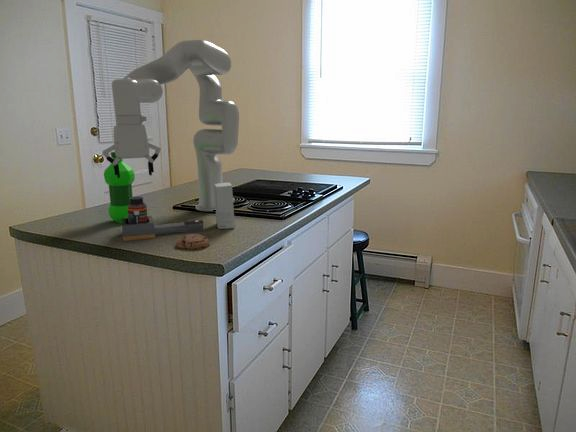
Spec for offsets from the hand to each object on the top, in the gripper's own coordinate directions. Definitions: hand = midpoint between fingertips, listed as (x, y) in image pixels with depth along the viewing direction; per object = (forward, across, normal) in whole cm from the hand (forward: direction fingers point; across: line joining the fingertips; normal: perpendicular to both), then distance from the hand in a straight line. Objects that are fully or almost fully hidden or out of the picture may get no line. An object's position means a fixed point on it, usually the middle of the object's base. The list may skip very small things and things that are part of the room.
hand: (134, 176), depth 146 cm
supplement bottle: (+18, +1, +1) cm, 18 cm away
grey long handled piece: (+20, -7, +1) cm, 21 cm away
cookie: (+20, -14, +17) cm, 30 cm away
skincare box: (+20, -28, 0) cm, 35 cm away
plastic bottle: (+20, +5, -20) cm, 29 cm away
